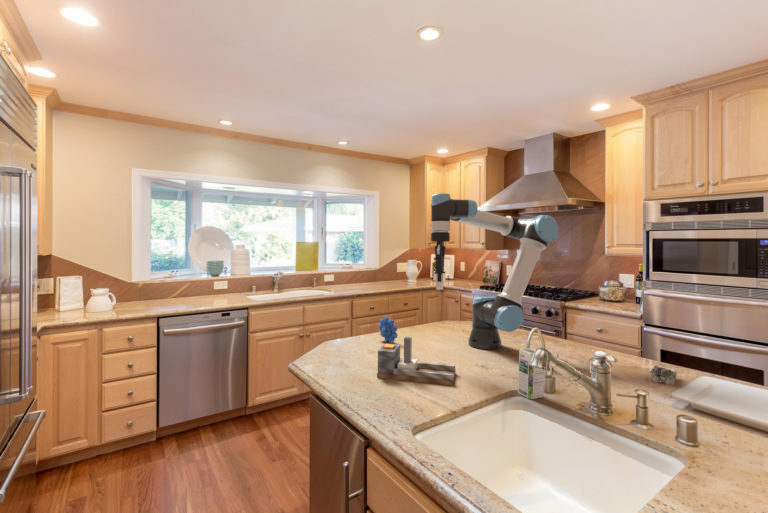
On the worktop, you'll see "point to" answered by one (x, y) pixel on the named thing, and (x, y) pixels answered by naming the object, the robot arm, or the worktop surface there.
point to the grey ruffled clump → (663, 375)
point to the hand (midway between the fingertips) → (439, 289)
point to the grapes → (388, 329)
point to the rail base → (423, 373)
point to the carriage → (407, 356)
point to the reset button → (389, 346)
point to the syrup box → (529, 376)
